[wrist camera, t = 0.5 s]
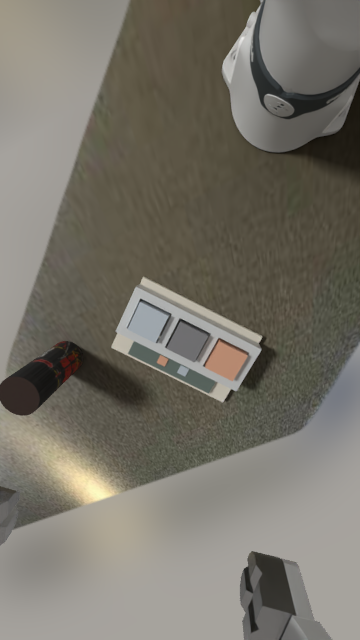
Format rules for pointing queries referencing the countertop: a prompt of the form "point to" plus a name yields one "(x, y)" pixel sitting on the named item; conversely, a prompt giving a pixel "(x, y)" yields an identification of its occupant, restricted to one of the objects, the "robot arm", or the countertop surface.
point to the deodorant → (40, 378)
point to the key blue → (148, 321)
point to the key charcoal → (187, 340)
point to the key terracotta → (226, 359)
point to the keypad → (158, 352)
